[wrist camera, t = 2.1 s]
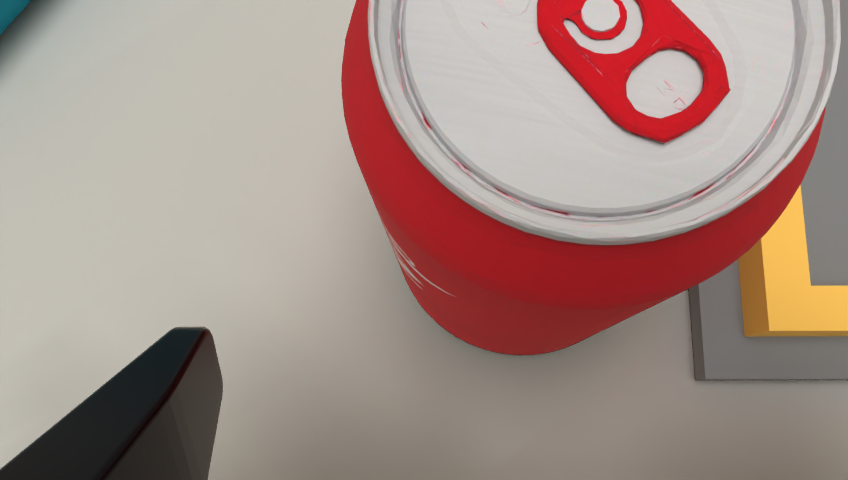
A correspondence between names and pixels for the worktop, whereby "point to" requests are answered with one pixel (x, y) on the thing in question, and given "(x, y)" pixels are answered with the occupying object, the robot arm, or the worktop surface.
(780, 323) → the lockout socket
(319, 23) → the worktop surface
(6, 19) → the ice cube tray
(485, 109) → the beverage can
